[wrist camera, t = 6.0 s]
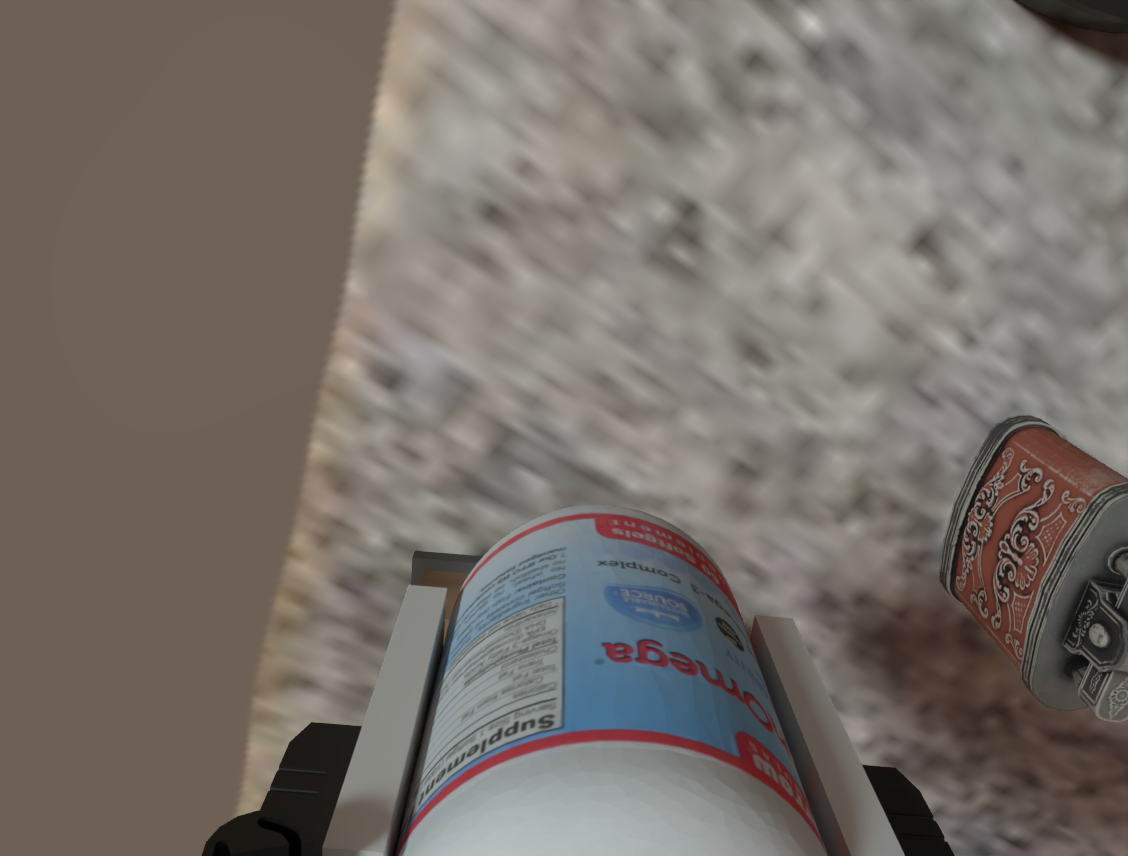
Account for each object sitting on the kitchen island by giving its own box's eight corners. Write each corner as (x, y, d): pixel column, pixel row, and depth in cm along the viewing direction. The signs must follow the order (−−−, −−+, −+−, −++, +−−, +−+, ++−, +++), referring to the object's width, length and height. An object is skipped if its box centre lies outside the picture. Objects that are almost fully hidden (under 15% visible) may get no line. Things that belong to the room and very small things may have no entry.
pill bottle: (789, 636, 19) (1086, 1291, 8) (573, 785, 20) (591, 1520, 10) (612, 435, 17) (701, 924, 7) (390, 609, 19) (170, 1252, 8)
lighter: (1000, 602, 36) (1154, 770, 27) (922, 590, 36) (1050, 754, 27) (1071, 422, 34) (1270, 538, 24) (988, 407, 34) (1156, 518, 24)
